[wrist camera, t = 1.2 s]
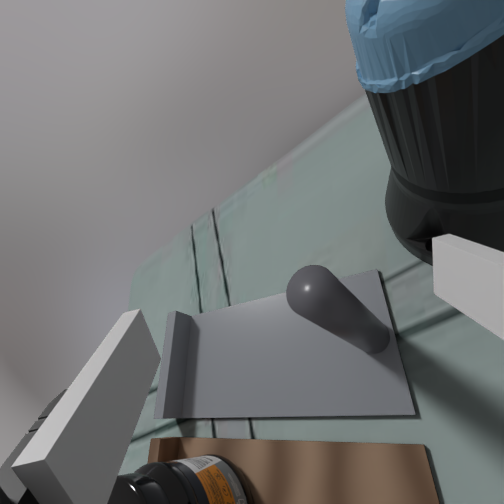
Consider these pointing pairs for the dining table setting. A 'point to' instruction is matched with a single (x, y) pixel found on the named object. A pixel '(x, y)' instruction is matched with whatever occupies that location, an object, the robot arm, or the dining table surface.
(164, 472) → the supplement container
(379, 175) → the dining table surface
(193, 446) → the wooden peg stand
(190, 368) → the grey l-shaped stand
